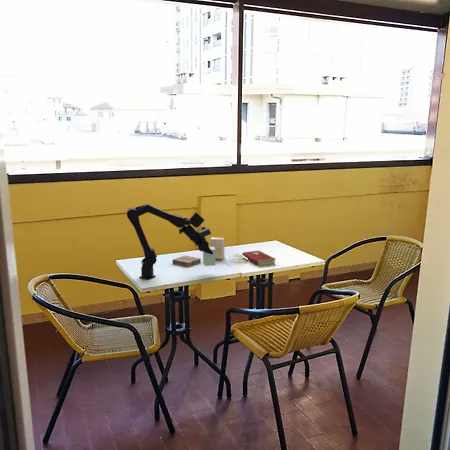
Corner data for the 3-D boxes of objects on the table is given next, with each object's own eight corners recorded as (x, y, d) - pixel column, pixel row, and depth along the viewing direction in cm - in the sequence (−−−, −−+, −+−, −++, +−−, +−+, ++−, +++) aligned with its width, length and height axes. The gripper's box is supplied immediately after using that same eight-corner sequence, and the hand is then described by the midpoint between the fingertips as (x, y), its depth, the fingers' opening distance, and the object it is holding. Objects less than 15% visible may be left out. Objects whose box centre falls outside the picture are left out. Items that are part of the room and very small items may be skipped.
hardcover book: (258, 267, 271) (258, 260, 270) (242, 258, 289) (242, 251, 289) (275, 265, 275) (275, 258, 275) (258, 256, 294) (259, 250, 293)
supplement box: (224, 258, 288) (224, 237, 285) (222, 260, 283) (222, 239, 281) (212, 257, 290) (212, 236, 287) (209, 259, 285) (209, 238, 283)
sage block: (204, 265, 251) (204, 249, 249) (203, 262, 257) (203, 247, 255) (215, 265, 252) (215, 249, 251) (213, 262, 258) (213, 246, 256)
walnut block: (188, 267, 268) (188, 262, 268) (172, 264, 275) (172, 259, 274) (200, 263, 278) (200, 258, 277) (185, 260, 284) (185, 255, 284)
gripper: (204, 226, 240) (225, 246, 245) (199, 219, 258) (218, 238, 263) (189, 241, 240) (210, 261, 245) (185, 233, 258) (205, 252, 263)
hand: (211, 252), depth 254 cm, fingers closed on sage block, 6 cm apart
